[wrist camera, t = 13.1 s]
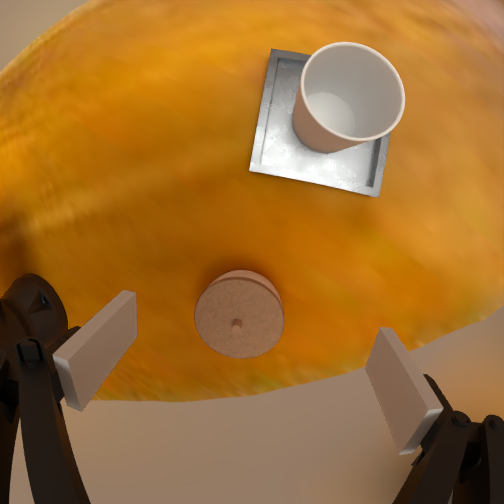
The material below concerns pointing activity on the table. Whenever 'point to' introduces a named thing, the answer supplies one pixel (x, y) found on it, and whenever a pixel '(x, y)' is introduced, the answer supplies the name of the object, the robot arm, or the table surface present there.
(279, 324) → the lidded jar
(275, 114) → the square metal tray
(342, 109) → the cup
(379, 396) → the robot arm
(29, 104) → the table surface
